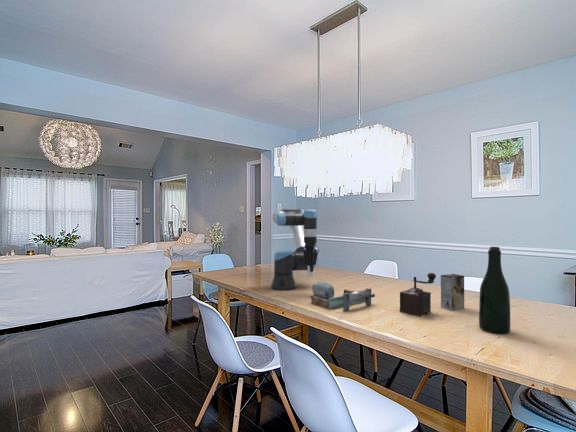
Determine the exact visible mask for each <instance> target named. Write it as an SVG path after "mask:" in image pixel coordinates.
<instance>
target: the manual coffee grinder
mask: <svg viewBox="0 0 576 432" xmlns="http://www.w3.org/2000/svg"><path fill="white" fill-rule="evenodd" d="M427 278H428V280H427V281H421V280H417V276H414V277H413V287H411V288H409V289H406V290H403V291H400V292H399V312H400V313H404V314H408V315H410V316H411V315H412V316H415V317H424V316H426V315H428V314H430V313H431V312H432V310H431V309H432V305H431V304H432V303H431V301H432V300H431V299H432V297H431V295H432V294H431V293H432V292H431V291H425V290H423V288H418V287H417V283H420V284H424V285H426V284H430V285H431V284H434V283H435V279H436V278H437V275H436V274H435V273H434V272H429V273H428V274H427Z"/></svg>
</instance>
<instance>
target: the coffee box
mask: <svg viewBox="0 0 576 432" xmlns="http://www.w3.org/2000/svg"><path fill="white" fill-rule="evenodd" d="M440 308H442V309H444V310H445V309H446V310H449V311H457V310H462V309H465V275H461V274H456V273H450V274H441V275H440Z"/></svg>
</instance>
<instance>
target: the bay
mask: <svg viewBox="0 0 576 432" xmlns="http://www.w3.org/2000/svg"><path fill="white" fill-rule="evenodd" d="M353 292H355V291H354V290H349V289H345V288H344V290H343V294H344V293H353ZM310 298H311V304H313V305H317V306H319V307H323V308H325V309H329V310H333V309H337V308H343V295H338V296H334V297H333V298H329V299H327V298H321V297H317V296H315V295H311V297H310ZM363 302H365V298H361V299H357V300H352V301H349V306H350V305H354V304H359V303H363Z"/></svg>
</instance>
